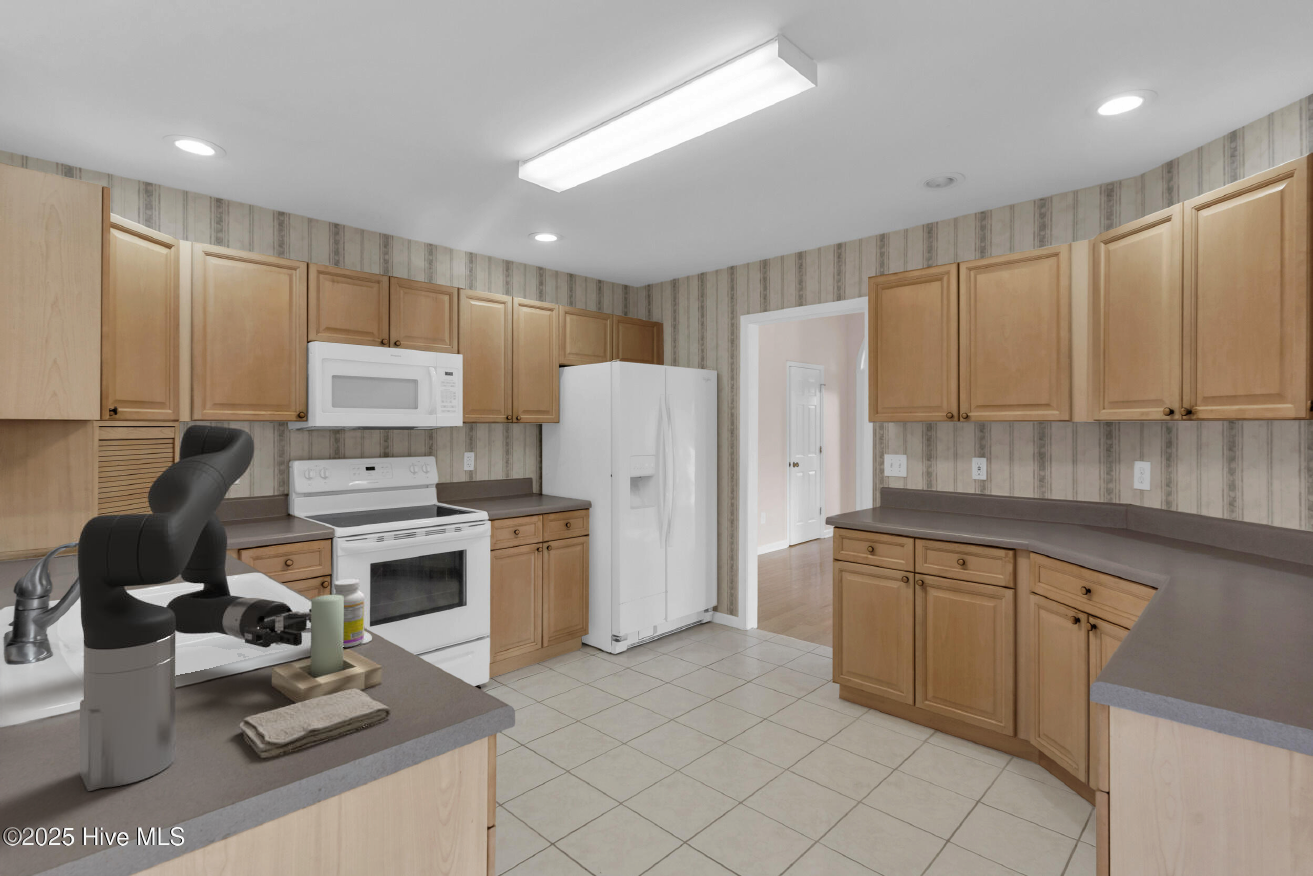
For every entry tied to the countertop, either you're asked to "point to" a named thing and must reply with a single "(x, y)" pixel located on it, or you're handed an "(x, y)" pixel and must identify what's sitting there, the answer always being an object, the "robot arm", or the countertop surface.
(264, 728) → the washcloth
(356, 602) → the supplement bottle
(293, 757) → the countertop surface
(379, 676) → the pocket block
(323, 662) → the green cylinder
